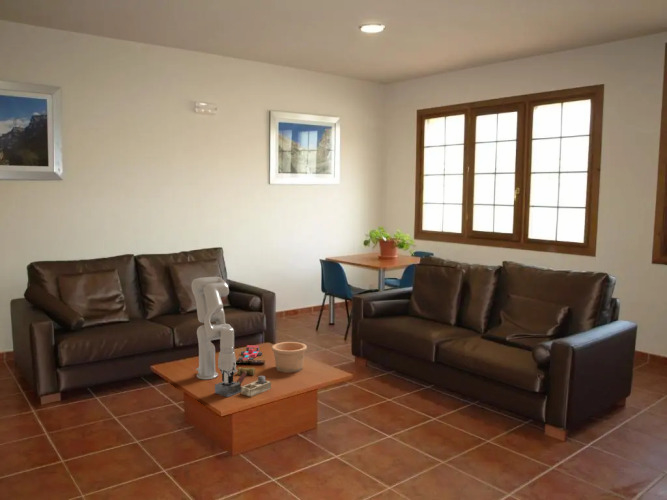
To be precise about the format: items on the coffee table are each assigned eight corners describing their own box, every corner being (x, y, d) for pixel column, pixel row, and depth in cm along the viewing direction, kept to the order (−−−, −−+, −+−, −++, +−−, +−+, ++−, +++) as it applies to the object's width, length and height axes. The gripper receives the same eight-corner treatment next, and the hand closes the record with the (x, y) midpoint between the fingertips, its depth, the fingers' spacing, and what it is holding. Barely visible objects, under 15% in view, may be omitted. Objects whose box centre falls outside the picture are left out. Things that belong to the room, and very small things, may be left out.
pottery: (265, 368, 363) (264, 345, 361) (292, 361, 377) (292, 339, 376) (285, 376, 347) (285, 353, 345) (313, 369, 361) (313, 346, 360)
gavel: (246, 380, 331) (229, 379, 332) (246, 387, 332) (229, 387, 333) (255, 366, 351) (239, 366, 352) (255, 373, 352) (239, 373, 353)
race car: (231, 355, 370) (243, 344, 395) (232, 364, 371) (243, 353, 396) (253, 356, 368) (263, 345, 393) (253, 365, 369) (263, 354, 394)
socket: (215, 393, 318) (214, 384, 318) (228, 388, 326) (228, 379, 326) (227, 397, 312) (227, 388, 312) (240, 392, 320) (240, 383, 320)
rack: (240, 393, 318) (240, 381, 317) (260, 385, 330) (260, 374, 330) (251, 396, 313) (251, 384, 312) (271, 388, 326) (271, 376, 325)
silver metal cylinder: (222, 392, 319) (222, 371, 318) (227, 390, 322) (227, 369, 321) (227, 394, 317) (227, 373, 315) (232, 392, 320) (232, 371, 318)
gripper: (211, 348, 318) (212, 380, 321) (233, 354, 309) (233, 386, 311) (221, 345, 324) (222, 376, 327) (243, 350, 315) (243, 383, 317)
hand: (227, 381), depth 319 cm, fingers closed on silver metal cylinder, 4 cm apart
